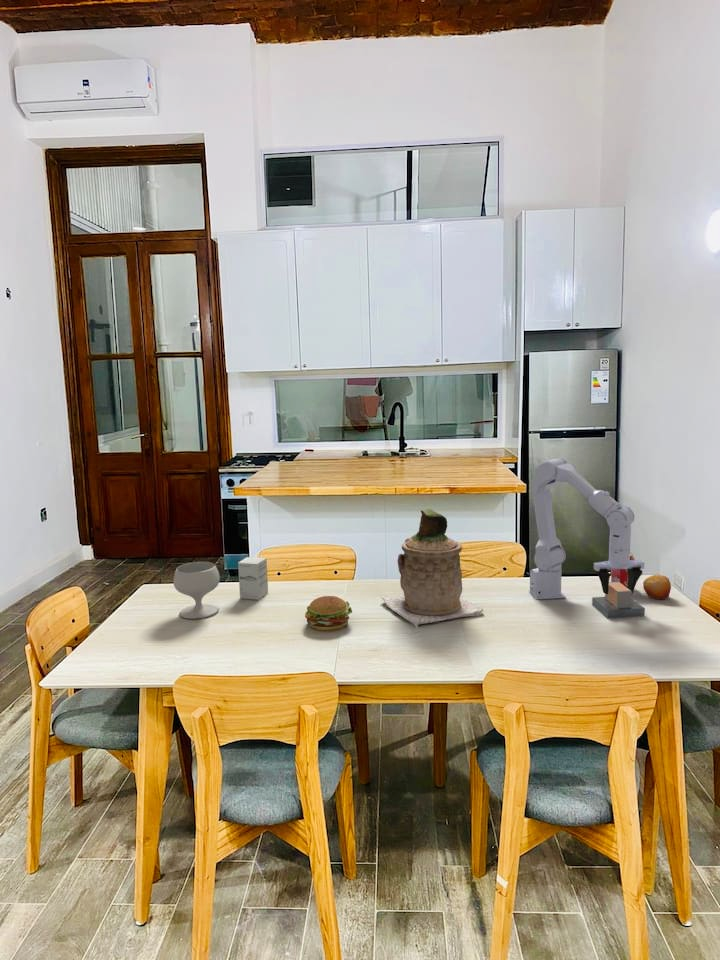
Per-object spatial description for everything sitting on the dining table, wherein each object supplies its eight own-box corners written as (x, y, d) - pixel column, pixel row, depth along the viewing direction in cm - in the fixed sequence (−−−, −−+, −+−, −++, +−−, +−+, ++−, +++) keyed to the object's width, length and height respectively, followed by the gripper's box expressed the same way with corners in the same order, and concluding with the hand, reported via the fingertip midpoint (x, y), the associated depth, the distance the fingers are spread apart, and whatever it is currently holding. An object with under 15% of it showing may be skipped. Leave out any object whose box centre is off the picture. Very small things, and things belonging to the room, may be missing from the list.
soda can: (635, 587, 216) (636, 551, 214) (631, 593, 210) (632, 557, 208) (613, 584, 220) (614, 549, 218) (608, 590, 214) (609, 554, 212)
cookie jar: (486, 615, 197) (486, 510, 191) (413, 629, 188) (411, 520, 182) (445, 590, 219) (444, 496, 214) (378, 602, 210) (375, 504, 205)
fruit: (681, 593, 205) (672, 574, 202) (664, 609, 203) (655, 590, 200) (661, 586, 212) (652, 567, 209) (644, 601, 210) (635, 582, 208)
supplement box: (239, 599, 218) (236, 562, 216) (249, 591, 225) (247, 556, 223) (259, 600, 216) (257, 563, 214) (269, 593, 223) (267, 557, 221)
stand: (607, 618, 190) (607, 610, 190) (592, 605, 201) (592, 597, 201) (644, 616, 191) (644, 608, 191) (627, 603, 202) (627, 595, 201)
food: (348, 634, 186) (347, 607, 185) (300, 631, 189) (299, 605, 187) (358, 616, 199) (357, 591, 198) (313, 614, 202) (312, 589, 201)
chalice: (195, 624, 197) (192, 576, 194) (167, 615, 205) (163, 569, 203) (231, 610, 208) (228, 564, 205) (202, 602, 216) (199, 558, 214)
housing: (605, 598, 200) (605, 582, 199) (617, 597, 200) (618, 581, 199) (617, 608, 191) (618, 591, 190) (631, 607, 192) (631, 591, 191)
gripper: (601, 553, 189) (599, 598, 191) (650, 550, 189) (648, 595, 192) (591, 546, 196) (590, 590, 198) (638, 544, 196) (636, 587, 199)
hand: (618, 592), depth 195 cm, fingers open, 7 cm apart
